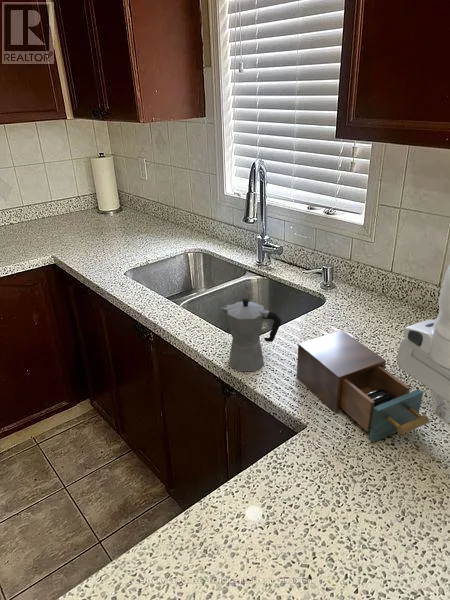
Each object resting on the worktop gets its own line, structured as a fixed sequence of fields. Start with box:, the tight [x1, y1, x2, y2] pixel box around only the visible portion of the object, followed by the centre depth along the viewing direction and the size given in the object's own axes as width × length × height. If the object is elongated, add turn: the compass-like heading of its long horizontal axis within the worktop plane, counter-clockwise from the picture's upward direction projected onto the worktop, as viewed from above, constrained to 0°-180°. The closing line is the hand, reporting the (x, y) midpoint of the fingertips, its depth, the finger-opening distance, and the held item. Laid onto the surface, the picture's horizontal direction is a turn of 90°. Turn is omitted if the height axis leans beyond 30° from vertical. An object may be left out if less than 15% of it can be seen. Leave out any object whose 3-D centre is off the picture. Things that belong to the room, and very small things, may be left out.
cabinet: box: [296, 330, 387, 415], centre depth 101 cm, size 15×13×10 cm
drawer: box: [339, 366, 430, 443], centre depth 90 cm, size 18×11×8 cm, turn 26°
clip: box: [366, 388, 392, 407], centre depth 92 cm, size 5×3×4 cm, turn 116°
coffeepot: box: [219, 297, 282, 373], centre depth 109 cm, size 15×9×18 cm, turn 67°
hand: (442, 416), depth 76 cm, fingers closed
